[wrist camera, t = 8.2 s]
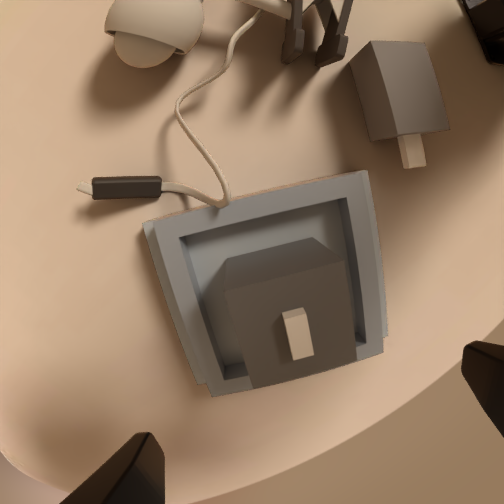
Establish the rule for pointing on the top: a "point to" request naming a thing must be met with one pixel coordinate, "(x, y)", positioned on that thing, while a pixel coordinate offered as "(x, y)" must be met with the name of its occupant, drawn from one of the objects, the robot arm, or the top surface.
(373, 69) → the cable plug
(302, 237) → the blue gray tray
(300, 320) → the brick
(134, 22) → the clip-on lamp
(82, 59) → the top surface
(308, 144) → the top surface
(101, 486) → the robot arm
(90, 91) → the top surface
